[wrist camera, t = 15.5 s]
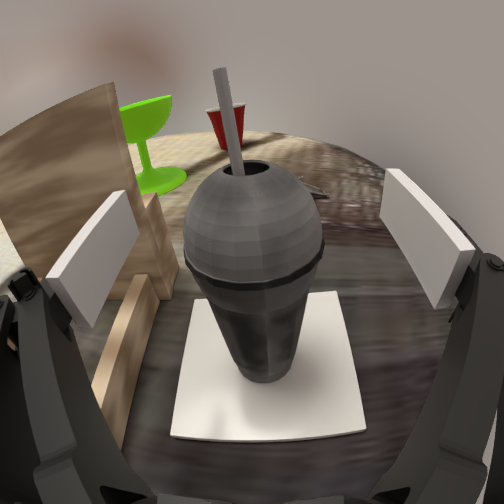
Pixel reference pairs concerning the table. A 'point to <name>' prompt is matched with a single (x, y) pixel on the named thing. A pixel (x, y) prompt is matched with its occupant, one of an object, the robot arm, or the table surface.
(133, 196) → the pine rack
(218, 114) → the plastic cup
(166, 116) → the wineglass
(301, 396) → the white tile
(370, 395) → the table surface
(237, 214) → the beverage cup
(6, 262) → the table surface
